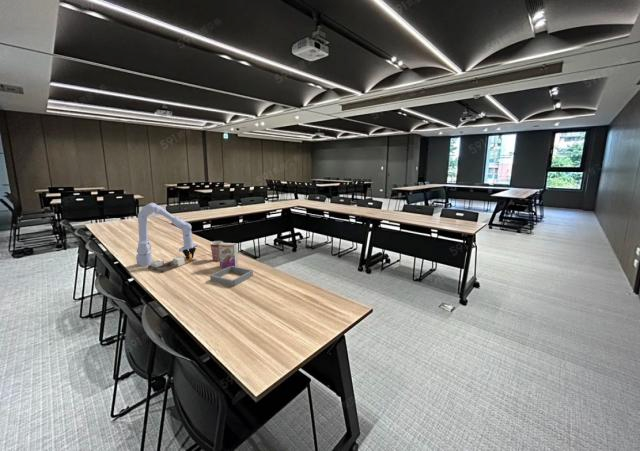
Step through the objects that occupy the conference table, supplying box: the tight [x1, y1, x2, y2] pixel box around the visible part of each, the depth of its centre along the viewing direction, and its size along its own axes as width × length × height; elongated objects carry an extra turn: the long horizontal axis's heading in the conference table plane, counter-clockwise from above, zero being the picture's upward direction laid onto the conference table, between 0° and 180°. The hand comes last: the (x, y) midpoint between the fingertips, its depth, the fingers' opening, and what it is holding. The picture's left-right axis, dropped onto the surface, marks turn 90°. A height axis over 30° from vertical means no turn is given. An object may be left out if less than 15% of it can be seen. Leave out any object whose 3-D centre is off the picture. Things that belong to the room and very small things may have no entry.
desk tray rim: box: [209, 266, 254, 288], centre depth 168 cm, size 18×18×4 cm
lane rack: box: [147, 256, 197, 273], centre depth 188 cm, size 15×26×3 cm, turn 155°
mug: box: [209, 240, 224, 263], centre depth 199 cm, size 13×9×14 cm
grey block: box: [151, 260, 163, 267], centre depth 181 cm, size 5×5×4 cm
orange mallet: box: [172, 252, 193, 267], centre depth 191 cm, size 5×13×5 cm, turn 155°
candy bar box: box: [218, 242, 239, 268], centre depth 185 cm, size 11×5×16 cm, turn 84°
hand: (189, 258), depth 195 cm, fingers closed on orange mallet, 3 cm apart
